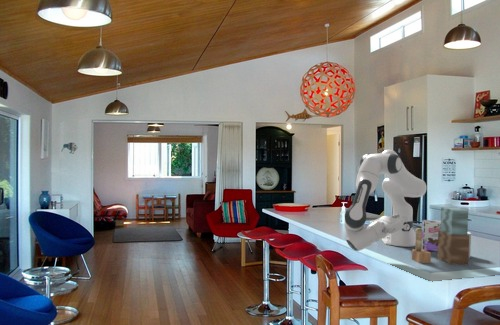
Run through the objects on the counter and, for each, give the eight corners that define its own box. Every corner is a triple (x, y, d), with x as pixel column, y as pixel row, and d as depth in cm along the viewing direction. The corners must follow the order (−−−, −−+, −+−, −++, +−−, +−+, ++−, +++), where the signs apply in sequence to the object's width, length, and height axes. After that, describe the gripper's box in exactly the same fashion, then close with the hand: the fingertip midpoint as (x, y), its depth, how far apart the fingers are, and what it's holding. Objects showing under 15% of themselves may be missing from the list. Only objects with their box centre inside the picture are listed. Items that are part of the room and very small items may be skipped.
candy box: (422, 251, 262) (423, 220, 262) (420, 248, 268) (421, 219, 268) (449, 252, 260) (450, 222, 260) (446, 250, 266) (447, 220, 266)
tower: (437, 258, 244) (439, 207, 243) (454, 258, 245) (456, 207, 244) (450, 264, 231) (452, 210, 231) (468, 264, 232) (470, 210, 231)
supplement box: (470, 258, 246) (471, 233, 246) (454, 256, 249) (455, 232, 249) (469, 255, 253) (470, 231, 253) (454, 254, 256) (455, 230, 256)
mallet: (412, 227, 240) (424, 227, 240) (411, 259, 240) (423, 259, 241) (419, 229, 232) (431, 230, 232) (418, 262, 232) (430, 263, 233)
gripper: (384, 227, 223) (409, 213, 224) (368, 221, 243) (391, 208, 244) (390, 239, 223) (415, 225, 225) (374, 232, 244) (397, 219, 245)
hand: (403, 216), depth 235 cm, fingers open, 8 cm apart
